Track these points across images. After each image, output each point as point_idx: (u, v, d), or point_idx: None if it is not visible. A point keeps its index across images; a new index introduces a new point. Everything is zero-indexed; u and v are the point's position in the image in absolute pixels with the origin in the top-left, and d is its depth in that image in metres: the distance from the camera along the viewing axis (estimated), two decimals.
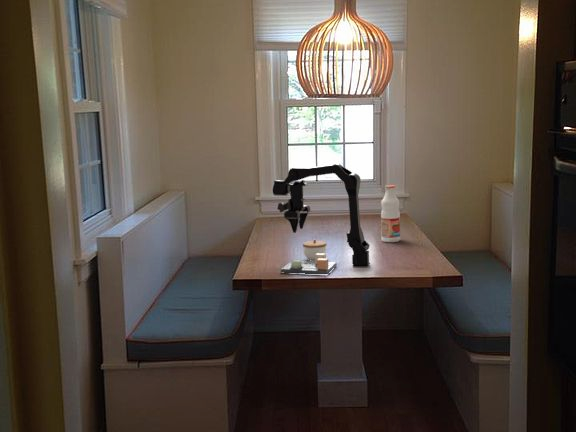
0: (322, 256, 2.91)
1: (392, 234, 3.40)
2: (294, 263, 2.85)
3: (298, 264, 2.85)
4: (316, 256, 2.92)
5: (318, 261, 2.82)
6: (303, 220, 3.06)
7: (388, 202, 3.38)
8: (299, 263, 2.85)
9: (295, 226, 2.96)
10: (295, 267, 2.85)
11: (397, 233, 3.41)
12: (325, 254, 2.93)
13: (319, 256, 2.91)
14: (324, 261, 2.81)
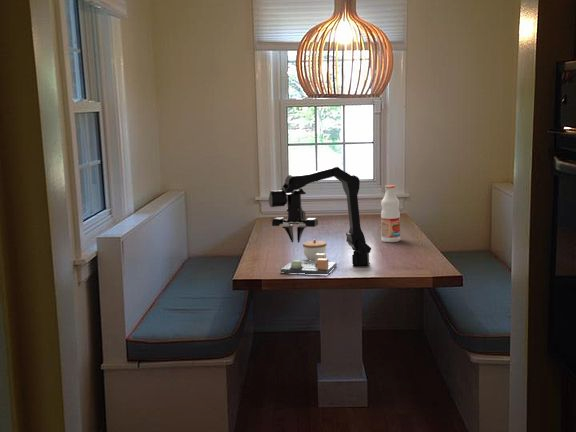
0: (322, 256, 2.91)
1: (392, 234, 3.40)
2: (294, 263, 2.85)
3: (298, 264, 2.85)
4: (316, 256, 2.92)
5: (318, 261, 2.82)
6: None
7: (388, 202, 3.38)
8: (299, 263, 2.85)
9: None
10: (295, 267, 2.85)
11: (397, 233, 3.41)
12: (325, 254, 2.93)
13: (319, 256, 2.91)
14: (324, 261, 2.81)
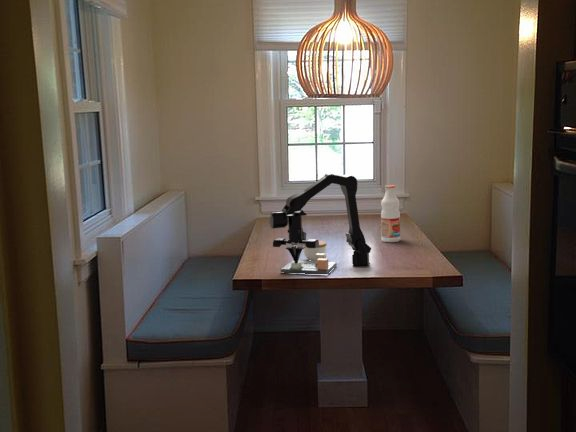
0: (322, 256, 2.91)
1: (392, 234, 3.40)
2: (294, 265, 2.85)
3: (298, 266, 2.85)
4: (316, 256, 2.92)
5: (318, 261, 2.82)
6: None
7: (388, 202, 3.38)
8: (299, 265, 2.85)
9: None
10: None
11: (397, 233, 3.41)
12: (325, 254, 2.93)
13: (319, 256, 2.91)
14: (324, 261, 2.81)
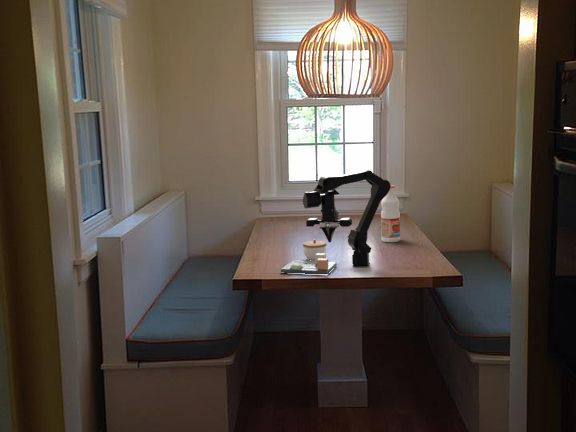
0: (322, 256, 2.91)
1: (392, 234, 3.40)
2: (294, 267, 2.85)
3: (298, 268, 2.85)
4: (316, 256, 2.92)
5: (318, 261, 2.82)
6: None
7: (388, 202, 3.38)
8: (299, 267, 2.86)
9: None
10: None
11: (397, 233, 3.41)
12: (325, 254, 2.93)
13: (319, 256, 2.91)
14: (324, 261, 2.81)
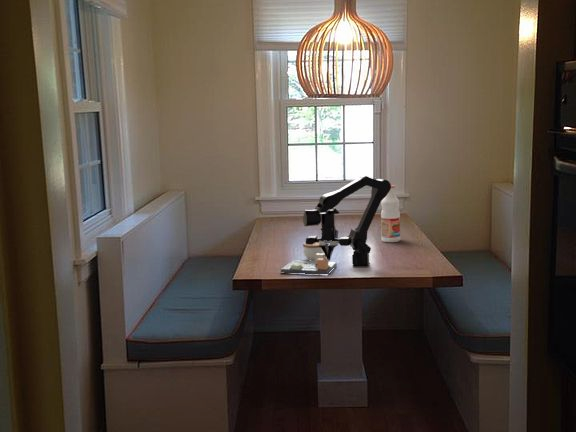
0: (322, 256, 2.91)
1: (392, 234, 3.40)
2: (294, 267, 2.85)
3: (298, 268, 2.85)
4: (316, 256, 2.92)
5: (318, 261, 2.82)
6: None
7: (388, 202, 3.38)
8: (299, 267, 2.86)
9: None
10: None
11: (397, 233, 3.41)
12: None
13: (319, 256, 2.91)
14: (324, 261, 2.81)
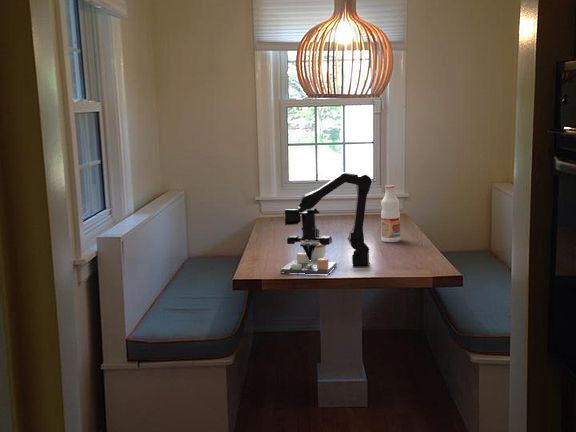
0: (304, 255, 2.93)
1: (392, 234, 3.40)
2: (294, 267, 2.85)
3: (298, 268, 2.85)
4: (298, 255, 2.94)
5: (318, 261, 2.82)
6: None
7: (388, 202, 3.38)
8: (299, 267, 2.86)
9: None
10: None
11: (397, 233, 3.41)
12: None
13: (301, 255, 2.94)
14: (324, 261, 2.81)
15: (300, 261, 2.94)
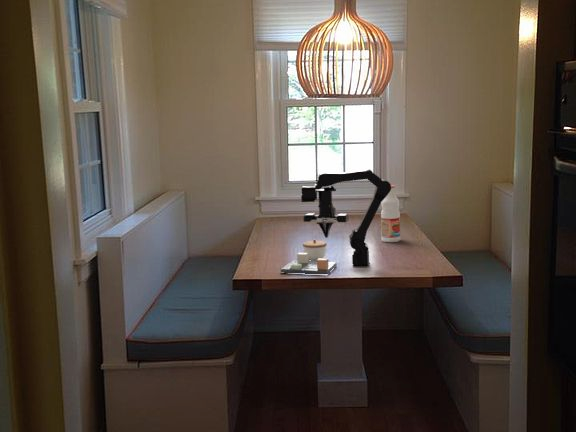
0: (304, 255, 2.93)
1: (392, 234, 3.40)
2: (294, 267, 2.85)
3: (298, 268, 2.85)
4: (298, 255, 2.94)
5: (318, 261, 2.82)
6: None
7: (388, 202, 3.38)
8: (299, 267, 2.86)
9: None
10: None
11: (397, 233, 3.41)
12: (307, 253, 2.95)
13: (301, 255, 2.94)
14: (324, 261, 2.81)
15: (300, 261, 2.94)
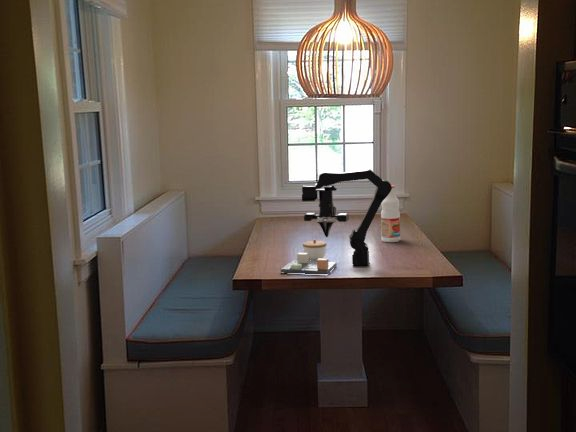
0: (304, 255, 2.93)
1: (392, 234, 3.40)
2: (294, 267, 2.85)
3: (298, 268, 2.85)
4: (298, 255, 2.94)
5: (318, 261, 2.82)
6: None
7: (388, 202, 3.38)
8: (299, 267, 2.86)
9: None
10: None
11: (397, 233, 3.41)
12: (307, 253, 2.95)
13: (301, 255, 2.94)
14: (324, 261, 2.81)
15: (300, 261, 2.94)
